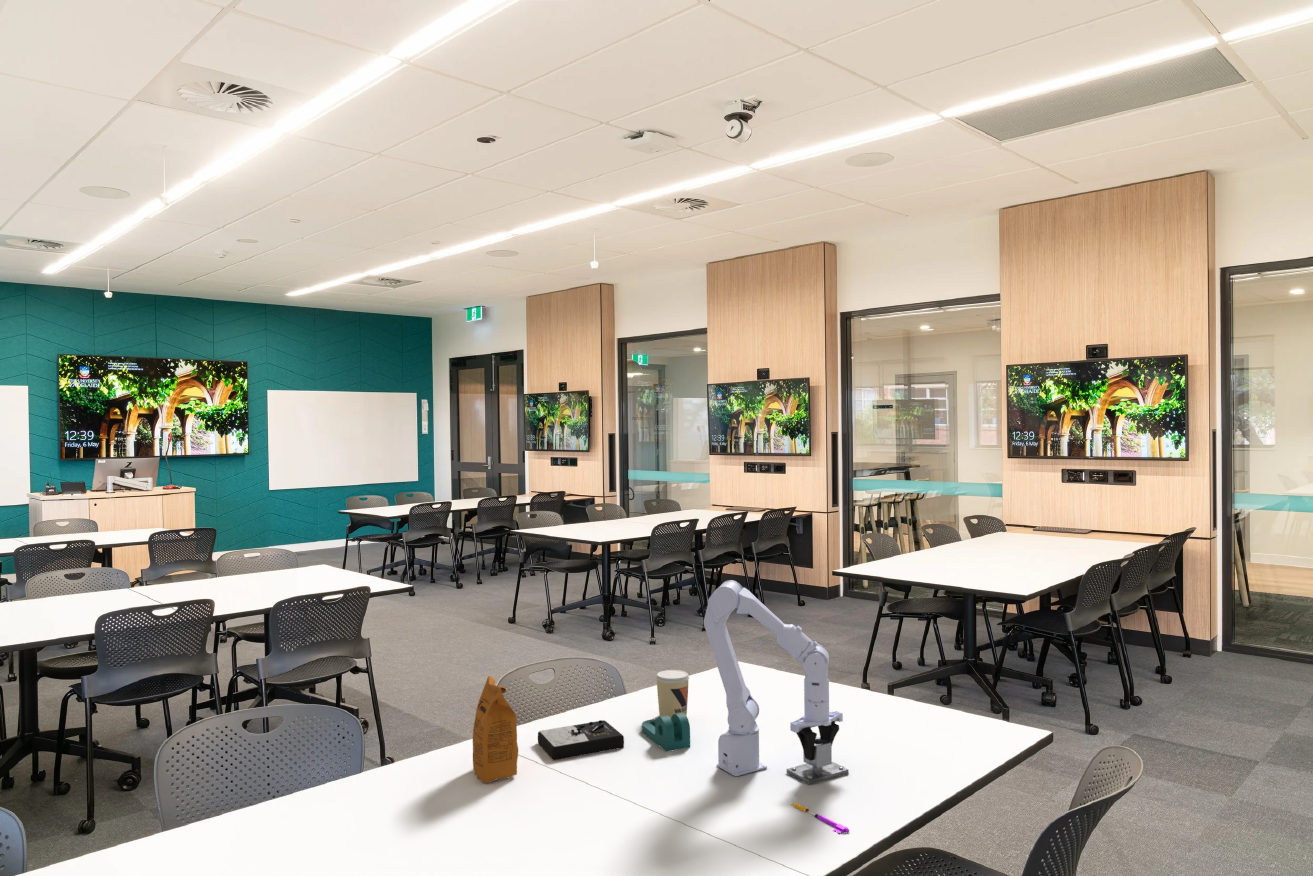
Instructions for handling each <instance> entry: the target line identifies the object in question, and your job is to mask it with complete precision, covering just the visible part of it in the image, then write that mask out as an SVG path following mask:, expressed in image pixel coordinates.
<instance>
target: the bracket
mask: <svg viewBox="0 0 1313 876" xmlns="http://www.w3.org/2000/svg"><path fill="white" fill-rule="evenodd" d="M690 725H691V724H690V721H689V718H688V716H686V715H685V714H684V713H677V714H673V715H672V717H671V718H670V717H669V716H668V715H666V716H660V715H659V716H657V717H656V719H655V718H654V719H647V720H643V721H642V722H641V733H642V734H643V735H645V737H647V738H648V737H649V738H648V739H650V740H651V741H652V742H653V743H655V744H656V745H657V746H659V747H660V748H661V749H662V750H664V752H672V750H673V751H677V750H683V749H688V748H691V726H690Z"/></svg>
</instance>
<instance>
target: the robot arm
mask: <svg viewBox="0 0 1313 876" xmlns="http://www.w3.org/2000/svg"><path fill="white" fill-rule="evenodd" d="M735 609H736V614H740V615H741V614H742V615H750V616H752V618H754V619H755V620H756V621H758V622H759V623H760V624H762V625H763V626H764V627H765V628H766V629H768V630H769V631H771V633H773V634H774V635H775V636H776V643H777V644H778V645H780V647H782V649H784V650H785V651H786V652H788V653H789V655H791V656H792V657H793V658H794V659H795V660H797V661H798V662H800V663H802V668H803V670H804V679H803V686H804V687H803V691H804V693H803V695H804V696H803V697H804V699H803V700H804V701H803V702H804V704H803V705H804V708H803V709H804V711H803V712H804V715H803V716H801V717H799V718H798V719H796V720H793V721H790V726H789V727H790V731H791V732H793V733H795V734H796V735H797V737H798V739H799V741H800V744H801V747H802V751H804V755H805V758H806V759H808V760H810V761H812V760H813V757H814V744H815V739H816V737H818V733H816V732H814V731H813V728H816V727H818V732H819V737H820V738H822V739H824V740H827V741H829V742H831V746H832V747H833V744H834V740H835V739H836V736H837V734H838V732H839V731H840V725H839V724H837V723H836V722H839V723H840V722H844V721H843V720H844V719H843V718H844V717H843V716H844V715H843V712H840V711H838V710H837V711H830V679H829V671H828V668H829V664H830V663H829V661H830V656H829V655H830V654H829V652H828V651H827V649H826V648H825V646H824V645H822V644H818V642H817V641H816V640H814V641H813V640H812V639H811V638H810V637H808V636H807V635H806V634H805V633H804V632H803V631H802V630H803V628H802V627H801V626H799V625H797V626H796V625H794V623H793V624H792V623H791V624H787V623H784V622H783V621H782V619H780V618H779V617H778V616H777V615H776V614H774V613H773V612H772V611H771V610H770V609H769V608H768V607H767V606H766V605H765V604H764V603H762V601H760V599H758V598H757V597H756V596H755V595H754V594H753V593H752V592H751V591H750V590H749V589H748V588H746V587H743V586H742V585H741V584H740V582H737V581H736V580H732V579H730V580H729V579H728V580H725V581H724V582H722V583H721V585H720V586H719V587H717V588H716V589H715V590H714V591H713V592H712V594H711V595H710V596H709V598H708V600H707V607H706V611H705V614H704V618H703V626H704V629H705V632H706V636H707V638H708V642H709V645H710V648H711V651H712V654H713V657H714V661H715V663H716V666H717V670H718V673H719V676H720V678H721V682H722V685H723V688H724V691H725V692H724V693H725V694H726V697H725V698H726V701H725V702H726V703H725V704H726V708H727V711H728V712H727V724H728V730H727V731H726V732H724V733H722V734H721V735H719V737H718V741H717V743H718V744H717V749H718V751H717V752H718V757H717V758H718V759H717V760H718V761H717V763H716V766H717V767H718V768H720V769H722V770H724V771H725V772H727V773H728V774H730V775H732V776H734V777H739V776H742V775H743V776H744V775H747V774H750V773H754V772H758V771H761V770H764V769H767V768H768V766H767V765H766V764H764V763H762V762H761V761H760V727H759V725H758V724H757V721H756V720H757V718H758V717H759V714H760V706H759V704H758V702H757V701H756V700H755V699H754V697H753V696H752V694H751V691H750V689H749V688H748V686H747V685H746V683H745V680H744V677H743V673H742V670H741V667H740V664H739V661H738V658H737V655H736V652H735V649H734V646H733V643H732V640H731V637H730V633H729V631H728V627H727V622H728V619H729V618H730V615H731V613H732V612H733V611H734V610H735Z"/></svg>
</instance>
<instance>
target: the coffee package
mask: <svg viewBox="0 0 1313 876" xmlns="http://www.w3.org/2000/svg"><path fill="white" fill-rule="evenodd" d="M505 693H507V688H506V687H504V686H500V685H496V678H494V677H493V676H492V675H489V676H487V679H486V681H485V684H484V687H483V689H482V692H481V695H480V697H479V699H478V703H477V705H476V710H475V711H476V712H475V714H474V715H475V717H474V723H473V729H472V765H473V766H472V767H473V768H472V769H473V772H474V774H475V777H476V779H478V780H480V781H481V782H482V783H483V784H489V783H492V782H495V781H496V780H500V779H506V778H507V779H508V778H512V777H513V776H516V775H518V770H517V769H518V757H519V746H518V731H517V728H518V727H517V723H518V722H517V715H516V713H515V711H514V709H513V708H512V706H511V705H510V703H508V701H507V700H506V697H505V696H504V694H505Z"/></svg>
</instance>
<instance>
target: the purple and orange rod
mask: <svg viewBox="0 0 1313 876" xmlns="http://www.w3.org/2000/svg"><path fill="white" fill-rule="evenodd" d="M791 806H793V807H794V808H795V809H798V810H800V811H801V812H804V813H806V812H807V813H808V814H811V815H813V816H814V818H816V819H817V820H820V821H822V823H823V822H824V823H825V822H826V824H827V825H829V826H830V827H831V826H832V827H833V828H834V829H833V830H832V832H833V831H837V832H839V833H841V832H847V833H846V834H849V833H850V829H849V828H848V827H847V826H846V825H843V824H841V823H837V822H836V821H834V820H832V819H829V818H828V817H826V816H823V815H821V814H819V813H814V812H811V811H810V809H809V808H808V807H806V806H804V805H803V806H802V805H801V804H799V803H797V802H792V803H791ZM848 832H849V833H848ZM841 834H842V833H841Z"/></svg>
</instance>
